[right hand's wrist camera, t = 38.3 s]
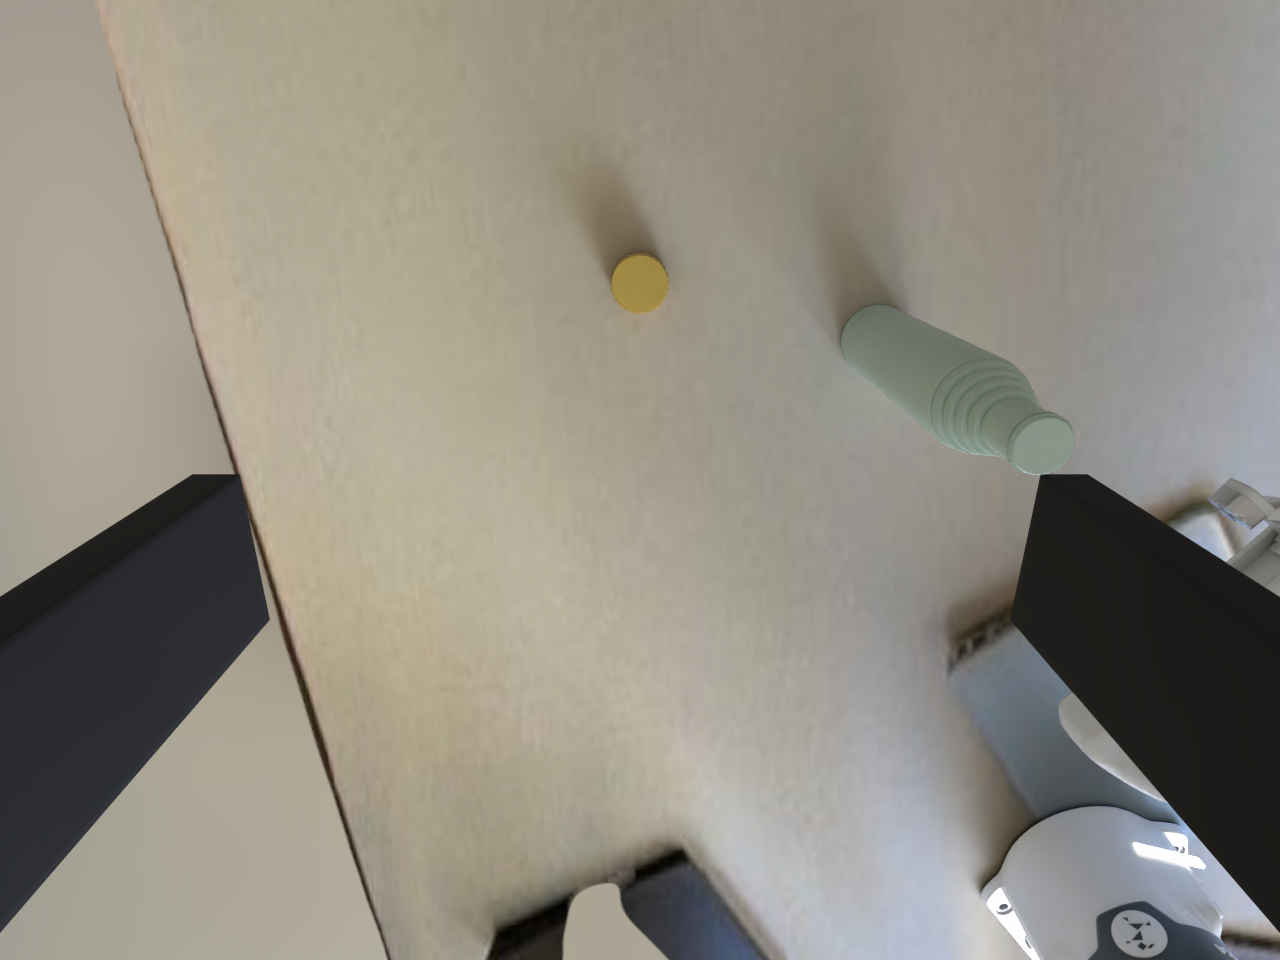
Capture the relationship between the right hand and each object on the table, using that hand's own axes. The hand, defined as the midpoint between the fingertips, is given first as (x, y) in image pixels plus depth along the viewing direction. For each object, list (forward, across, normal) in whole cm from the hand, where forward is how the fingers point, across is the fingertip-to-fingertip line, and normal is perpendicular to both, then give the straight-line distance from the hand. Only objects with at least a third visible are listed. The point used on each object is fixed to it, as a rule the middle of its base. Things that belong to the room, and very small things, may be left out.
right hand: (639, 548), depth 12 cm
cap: (+39, 0, 0) cm, 39 cm away
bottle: (+41, +16, -4) cm, 44 cm away
